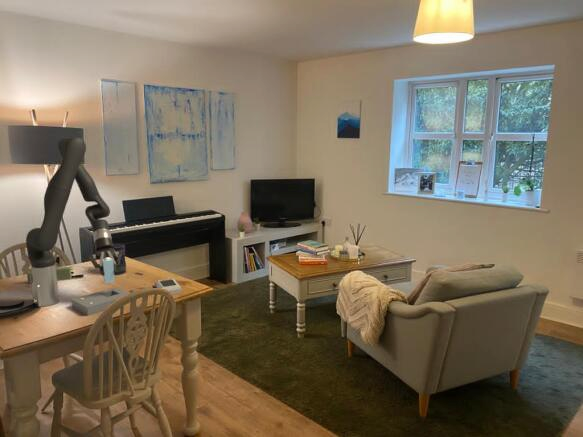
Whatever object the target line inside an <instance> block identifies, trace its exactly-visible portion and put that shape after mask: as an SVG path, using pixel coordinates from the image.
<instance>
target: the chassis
mask: <svg viewBox="0 0 583 437" xmlns="http://www.w3.org/2000/svg"><path fill="white" fill-rule="evenodd" d="M127 294H129V292H127V291H126V290H123V289H120V288H118V287H115V286H114V287H111V288H109V289H108V288H107V289H104V290H100V291H97V292H94V293H89V294H86V295H83V296H78V297H74V298H71V305H72V306H71V307H72V308H74V309H76V311H77V310H78V312H81V313H83V314H85V315H86V316H91V315H95V314H98V313H101V312H104V311H103V310H104V309H106V308H107V307H108V306H109V305H110V304H112V303H113V302H115V301H116V300H117V299H119V298H121V297H123V296H125V295H127Z"/></svg>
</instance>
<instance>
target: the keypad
mask: <svg viewBox="0 0 583 437" xmlns="http://www.w3.org/2000/svg"><path fill="white" fill-rule="evenodd" d="M154 287H155V288H156V287H158V288H162V289H166V290H168V291H170V292H171V293H172V294H171V295H174V294H181V293H182V292H183V291H182V289H183V288H182V287H181V286H180V285H179V283H178V282H177V281H176V279H174V278H166V279H159V280H156V281H154Z"/></svg>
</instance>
